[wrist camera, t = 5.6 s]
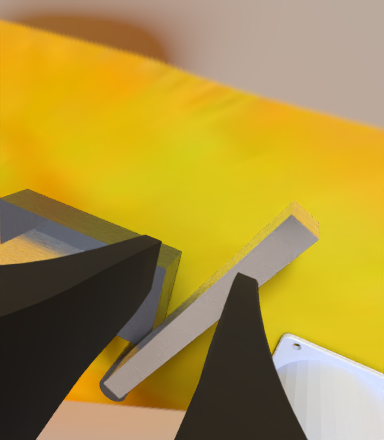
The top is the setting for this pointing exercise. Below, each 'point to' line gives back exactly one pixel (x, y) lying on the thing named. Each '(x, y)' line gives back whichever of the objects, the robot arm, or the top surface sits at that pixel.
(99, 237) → the grey piece
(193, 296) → the steel lever
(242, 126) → the top surface
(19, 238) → the grey rectangular block
